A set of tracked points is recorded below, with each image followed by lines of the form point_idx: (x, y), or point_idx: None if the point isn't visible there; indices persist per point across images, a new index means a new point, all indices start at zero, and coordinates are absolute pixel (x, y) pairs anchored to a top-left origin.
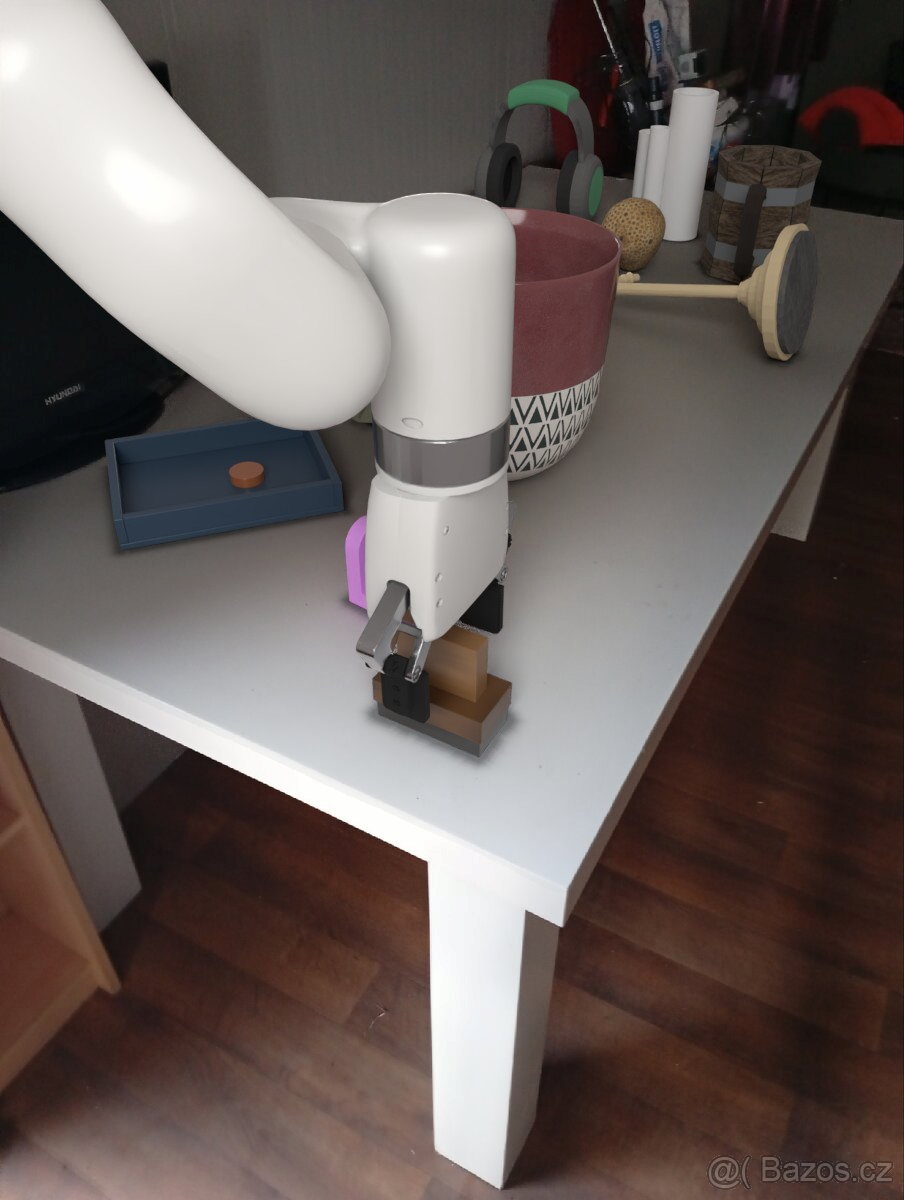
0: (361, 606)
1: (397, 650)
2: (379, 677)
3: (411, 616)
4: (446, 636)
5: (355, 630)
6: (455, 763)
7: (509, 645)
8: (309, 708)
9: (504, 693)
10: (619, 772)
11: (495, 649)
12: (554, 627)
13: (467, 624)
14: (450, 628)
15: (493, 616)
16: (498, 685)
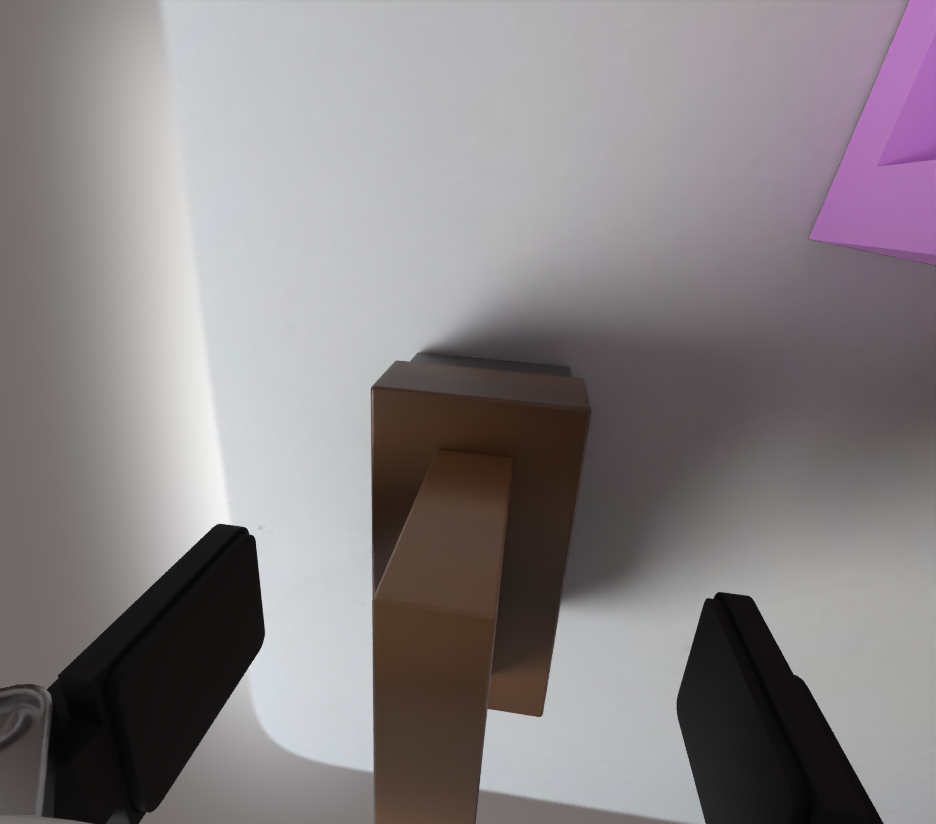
0: (907, 6)
1: (416, 498)
2: (386, 407)
3: (441, 648)
4: (392, 793)
5: (749, 73)
6: None
7: (809, 549)
8: (345, 157)
9: (496, 709)
10: (497, 787)
11: (781, 523)
12: (922, 626)
13: (700, 620)
14: (444, 796)
15: (696, 774)
16: (515, 695)
